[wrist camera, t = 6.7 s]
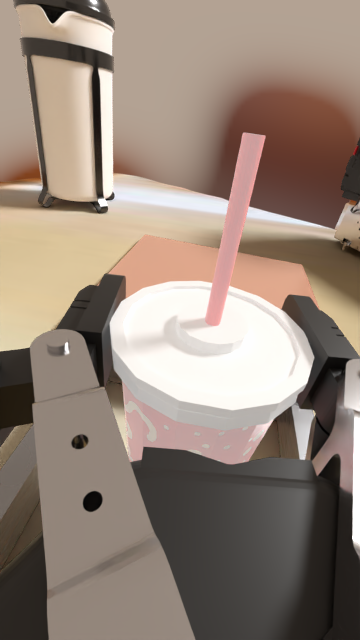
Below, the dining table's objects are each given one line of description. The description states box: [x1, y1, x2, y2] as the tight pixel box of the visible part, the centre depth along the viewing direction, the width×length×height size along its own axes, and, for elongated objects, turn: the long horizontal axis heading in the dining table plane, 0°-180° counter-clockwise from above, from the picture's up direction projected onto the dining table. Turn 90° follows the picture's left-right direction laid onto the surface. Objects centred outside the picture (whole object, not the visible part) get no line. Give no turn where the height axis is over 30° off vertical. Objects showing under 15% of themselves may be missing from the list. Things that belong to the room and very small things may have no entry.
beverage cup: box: [110, 133, 314, 464], centre depth 10 cm, size 6×6×14 cm
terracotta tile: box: [97, 235, 320, 310], centre depth 31 cm, size 22×22×1 cm
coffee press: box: [13, 0, 115, 213], centre depth 46 cm, size 17×16×30 cm
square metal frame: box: [0, 364, 314, 570], centre depth 14 cm, size 14×14×4 cm
